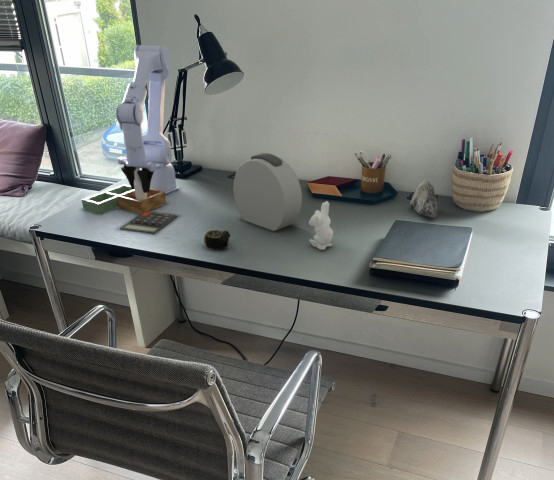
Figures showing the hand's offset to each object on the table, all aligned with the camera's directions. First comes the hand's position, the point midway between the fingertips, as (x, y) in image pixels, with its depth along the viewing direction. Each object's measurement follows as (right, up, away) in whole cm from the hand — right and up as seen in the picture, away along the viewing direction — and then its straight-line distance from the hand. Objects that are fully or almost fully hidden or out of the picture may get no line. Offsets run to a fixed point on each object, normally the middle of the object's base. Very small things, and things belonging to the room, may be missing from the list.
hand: (140, 190), depth 179 cm
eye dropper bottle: (0, -4, +3) cm, 5 cm away
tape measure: (+28, -23, -23) cm, 43 cm away
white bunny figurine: (+56, -23, -23) cm, 65 cm away
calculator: (+5, -13, -8) cm, 16 cm away
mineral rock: (+89, -9, -3) cm, 90 cm away
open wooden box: (0, -4, +3) cm, 5 cm away
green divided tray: (-10, -3, +5) cm, 12 cm away
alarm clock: (+40, -13, -8) cm, 43 cm away
